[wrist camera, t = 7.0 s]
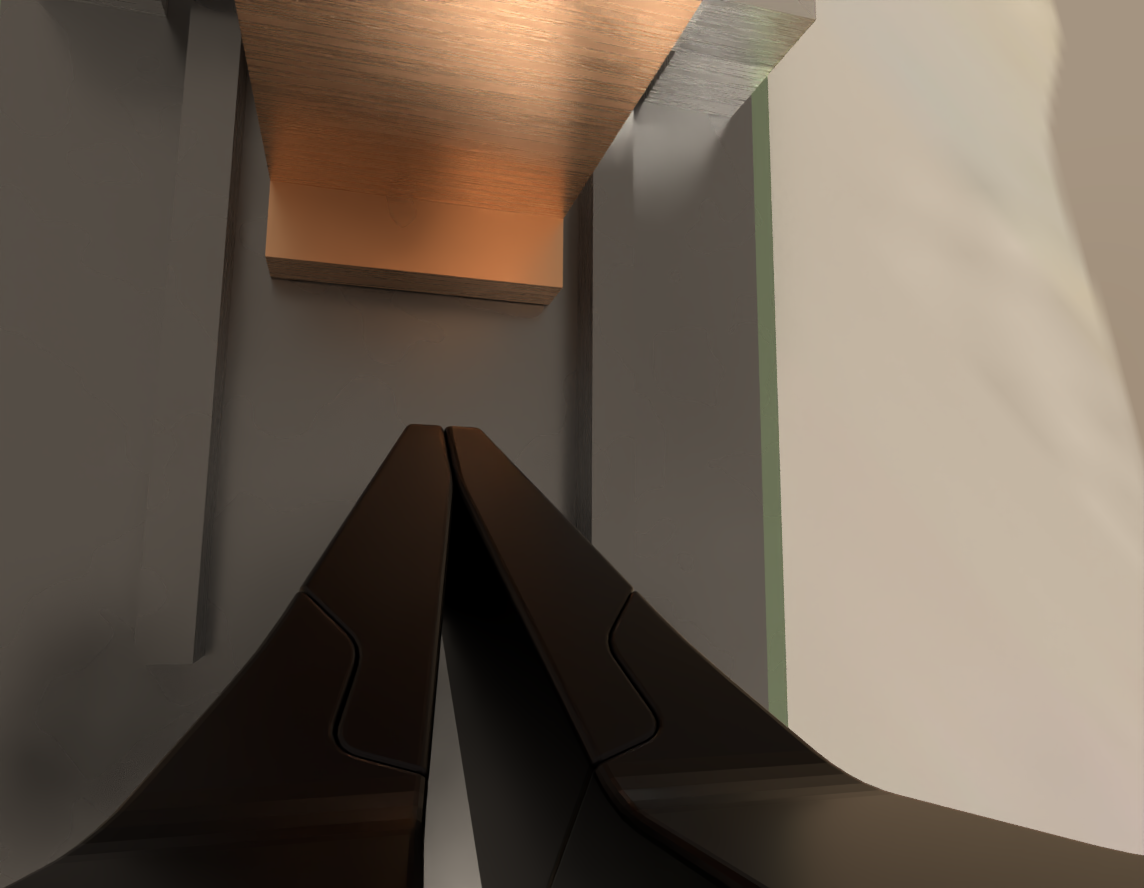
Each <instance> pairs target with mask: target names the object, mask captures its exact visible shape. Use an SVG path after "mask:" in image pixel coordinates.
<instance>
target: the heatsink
mask: <svg viewBox="0 0 1144 888" xmlns="http://www.w3.org/2000/svg"><path fill="white" fill-rule="evenodd" d="M815 20H816V5H815V0H703V1H702V2H701V4H700V5H699V7H698V8H697V10H696V12H695V13H694V15H693V16H692V18H691V19H690V21H689V23H688V24H687V26H686V27H685V29H684V30H683V32H682V34H681V35H680V37H679V38H678V40H677V41H676V43H675V45H674V46H673V48H672V49H671V51H670V52H669V54H668V56H667V57H666V59H665V60H664V62H663V63H662V65H661V67H660V68H659V70H658V71H657V73H656V74H655V76H654V77H653V79H652V81H651V82H650V84H649V85H648V87H647V88H646V90H645V92H644V93H643V95H642V96H641V98H640V99H639V101H638V103H637V104H636V106H635V107H634V109H633V110H632V112H631V114H630V115H629V117H628V118H627V120H626V121H625V123H624V125H623V126H622V128H621V129H620V131H619V132H618V134H617V136H616V137H615V139H614V140H613V142H612V143H611V145H610V147H609V148H608V150H607V151H606V153H605V154H604V156H603V158H602V159H601V161H600V162H599V164H598V165H597V167H596V169H595V170H594V172H593V173H592V175H591V176H590V178H589V180H588V181H587V183H586V184H585V186H584V187H583V189H582V190H581V192H580V194H579V195H578V197H577V198H576V200H575V201H574V203H573V205H572V206H571V208H570V209H569V211H568V212H567V214H566V216H565V217H564V219H563V288H562V289H561V290H560V292H559V293H558V294H557V295H556V297H555V298H554V299H553V300H552V302H551V303H550V304H549V305H545V304H535V303H525V302H515V301H505V300H495V299H485V298H474V297H464V296H454V295H444V294H434V293H424V292H414V291H404V290H394V289H384V288H374V287H364V286H354V285H343V284H333V283H323V282H313V281H303V280H293V279H283V278H273V277H270V273H269V269H268V265H267V262H266V258H265V250H266V236H267V221H268V207H269V193H270V177H269V172H268V167H267V162H266V157H265V151H264V146H263V141H262V136H261V131H260V126H259V121H258V116H257V111H256V106H255V101H254V96H253V91H252V86H251V81H250V76H249V71H248V66H247V60H246V55H245V50H244V45H243V40H242V35H241V30H240V25H239V20H238V15H237V10H236V5H235V0H0V888H4V887H6V886H8V885H10V884H12V883H13V882H15V881H17V880H19V879H21V878H23V877H25V876H27V875H29V874H31V873H32V872H34V871H36V870H38V869H40V868H42V867H44V866H46V865H48V864H49V863H51V862H53V861H55V860H56V859H58V858H59V857H61V856H62V855H64V854H65V853H66V852H68V851H69V850H71V849H72V848H74V847H75V846H76V845H78V844H79V843H80V842H81V841H82V840H84V839H85V838H86V837H87V836H89V835H90V834H91V833H92V832H93V831H95V830H96V829H97V828H98V827H99V826H100V825H101V824H102V823H103V822H104V821H105V820H106V819H107V818H109V817H110V816H111V815H112V814H113V813H114V812H115V811H116V809H117V808H118V807H119V806H120V805H121V804H122V803H123V802H124V801H125V800H126V799H127V798H128V797H129V795H130V794H131V793H132V792H133V791H134V790H135V789H136V788H137V787H138V785H139V784H140V783H141V782H142V781H143V780H144V779H145V778H146V776H147V775H148V774H149V773H150V772H151V771H152V770H153V769H154V767H155V766H156V765H157V764H158V763H159V762H160V761H161V760H162V758H163V757H164V756H165V755H166V754H167V753H168V752H169V751H170V749H171V748H172V747H173V746H174V745H175V744H176V743H177V742H178V740H179V739H180V738H181V737H182V736H183V735H184V734H185V733H186V731H187V730H188V729H189V728H190V727H191V726H192V725H193V724H194V723H195V721H196V720H197V719H198V718H199V717H200V716H201V715H202V714H203V712H204V711H205V710H206V709H207V708H208V707H209V706H210V705H211V703H212V702H213V701H214V700H215V699H216V698H217V697H218V696H219V694H220V693H221V692H222V691H223V690H224V689H225V687H226V686H227V685H228V684H229V683H230V681H231V680H232V679H233V678H234V677H235V675H236V674H237V673H238V672H239V671H240V670H241V668H242V667H243V666H244V665H245V664H246V662H247V661H248V660H249V659H250V658H251V656H252V655H253V654H254V653H255V651H256V650H257V649H258V647H259V646H260V644H261V643H262V642H263V640H264V639H265V638H266V636H267V635H268V633H269V632H270V631H271V629H272V628H273V626H274V625H275V624H276V622H277V621H278V619H279V618H280V617H281V615H282V614H283V612H284V611H285V609H286V608H287V606H288V605H289V603H290V601H291V600H292V598H293V597H294V595H295V594H296V593H297V592H299V589H300V587H301V585H302V584H303V582H304V581H305V579H306V578H307V576H308V575H309V573H310V572H311V570H312V569H313V567H314V566H315V564H316V563H317V561H318V560H319V558H320V557H321V555H322V554H323V552H324V551H325V549H326V547H327V546H328V544H329V543H330V541H331V540H332V538H333V537H334V535H335V534H336V532H337V531H338V529H339V528H340V526H341V525H342V523H343V522H344V520H345V519H346V517H347V516H348V514H349V513H350V511H351V510H352V508H353V506H354V505H355V503H356V502H357V500H358V499H359V497H360V496H361V494H362V493H363V491H364V490H365V488H366V487H367V485H368V484H369V482H370V481H371V479H372V478H373V476H374V475H375V473H376V472H377V470H378V469H379V467H380V465H381V464H382V462H383V461H384V459H385V458H386V456H387V455H388V453H389V452H390V450H391V449H392V447H393V446H394V444H395V443H396V441H397V440H398V438H399V437H400V435H401V434H402V432H403V431H404V429H405V428H406V427H407V426H408V425H409V424H425V425H438V426H441V427H442V428H443V430H444V429H445V428H446V427H448V426H461V427H476V428H479V429H481V430H482V431H483V432H484V433H485V434H486V435H487V436H488V437H489V438H490V439H491V440H492V442H493V443H494V444H495V445H496V446H497V447H498V448H499V449H500V450H501V451H502V452H503V453H504V454H505V455H506V456H507V457H508V458H509V459H510V460H511V461H512V462H513V463H514V464H515V465H516V466H517V467H518V468H519V469H520V470H521V471H522V473H523V474H524V475H525V476H526V477H527V478H528V479H529V480H530V481H531V482H532V483H533V484H534V485H535V486H536V487H537V488H538V489H539V490H540V491H541V492H542V493H543V494H544V495H545V496H546V497H547V498H548V499H549V500H550V501H551V502H552V504H553V505H554V506H555V507H556V508H557V509H558V510H559V511H560V512H561V513H562V514H563V515H564V516H565V517H566V518H567V519H568V520H569V521H570V522H571V523H572V524H573V525H574V526H575V527H576V528H577V529H578V530H579V531H580V532H581V533H582V535H583V536H584V537H585V538H586V539H587V540H588V541H589V542H590V543H591V544H592V545H593V546H594V547H595V548H596V549H597V550H598V551H599V552H600V553H601V554H602V555H603V556H604V557H605V558H606V559H607V560H608V561H609V562H610V563H611V565H612V566H613V567H614V568H615V569H616V570H617V571H618V572H619V573H620V574H621V575H622V576H623V577H624V578H625V579H626V580H627V581H628V582H629V583H630V584H631V585H632V586H633V588H634V591H637V592H639V593H640V594H641V595H642V596H643V597H644V598H645V599H646V600H647V601H648V602H649V603H650V604H651V605H652V607H653V608H654V609H655V610H656V611H657V612H658V613H659V614H660V615H661V616H662V617H663V618H664V619H666V620H667V621H668V622H669V623H670V624H671V625H672V626H673V627H674V628H675V629H676V630H677V631H678V632H679V633H680V634H681V635H682V636H683V637H684V638H685V639H686V640H687V641H688V642H689V643H690V644H691V645H693V646H694V647H695V648H696V649H697V650H698V651H699V652H700V653H702V654H703V655H704V656H705V657H706V658H707V659H708V660H709V661H711V662H712V663H713V664H714V665H715V666H716V667H717V668H719V669H720V670H721V671H722V672H723V673H724V674H725V675H726V676H728V677H729V678H730V679H731V680H732V681H734V682H735V683H736V684H737V685H738V686H740V687H741V688H742V689H743V690H744V691H745V692H747V693H748V694H749V695H750V696H751V697H753V698H754V699H755V700H756V701H757V702H758V703H760V704H761V705H762V706H763V707H764V708H766V709H767V710H768V711H769V712H770V713H771V714H773V715H774V716H775V717H776V718H777V719H779V720H780V721H781V722H782V723H783V724H784V725H786V726H787V727H788V713H787V681H786V649H785V618H784V586H783V554H782V522H781V491H780V459H779V427H778V395H777V364H776V332H775V300H774V269H773V237H772V205H771V173H770V142H769V110H768V78H767V75H768V74H769V73H770V72H771V71H772V70H773V69H774V67H775V66H776V65H777V64H778V63H779V62H780V61H781V59H782V58H783V57H784V56H785V55H786V54H787V52H788V51H789V50H790V49H791V48H792V47H793V46H794V44H795V43H796V42H797V41H798V40H799V39H800V37H801V36H802V35H803V34H804V33H805V32H806V31H807V29H808V28H809V27H810V26H811V25H812V24H813V23H814V21H815ZM634 591H633V592H634ZM424 888H482V886H481V880H480V873H479V867H478V860H477V854H476V848H475V841H474V835H473V829H472V822H471V816H470V810H469V803H468V797H467V791H466V784H465V778H464V772H463V765H462V759H461V753H460V746H459V740H458V734H457V727H456V721H455V715H454V708H453V702H452V696H451V689H450V683H449V677H448V670H447V664H446V658H445V651H444V645H443V639H442V636H441V648H440V659H439V670H438V682H437V693H436V704H435V716H434V727H433V738H432V750H431V761H430V772H429V780H428V795H427V808H426V822H425V839H424Z"/></svg>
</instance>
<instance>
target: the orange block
mask: <svg viewBox="0 0 1144 888" xmlns="http://www.w3.org/2000/svg"><path fill="white" fill-rule="evenodd" d="M702 1H703V0H235V5H236V10H237V15H238V20H239V25H240V30H241V35H242V40H243V45H244V50H245V55H246V60H247V66H248V71H249V76H250V81H251V86H252V91H253V96H254V101H255V106H256V111H257V116H258V121H259V126H260V131H261V136H262V141H263V146H264V151H265V157H266V162H267V167H268V172H269V177H270V193H269V207H268V221H267V236H266V250H265V258H266V262H267V265H268V269H269V273H270V277H273V278H283V279H293V280H303V281H313V282H323V283H333V284H343V285H354V286H364V287H374V288H384V289H394V290H404V291H414V292H424V293H434V294H444V295H454V296H464V297H474V298H485V299H495V300H505V301H515V302H525V303H535V304H545V305H549V304H550V303H551V302H552V300H553V299H554V298H555V297H556V295H557V294H558V293H559V292H560V290H561V289H562V288H563V219H564V217H565V216H566V214H567V212H568V211H569V209H570V208H571V206H572V205H573V203H574V201H575V200H576V198H577V197H578V195H579V194H580V192H581V190H582V189H583V187H584V186H585V184H586V183H587V181H588V180H589V178H590V176H591V175H592V173H593V172H594V170H595V169H596V167H597V165H598V164H599V162H600V161H601V159H602V158H603V156H604V154H605V153H606V151H607V150H608V148H609V147H610V145H611V143H612V142H613V140H614V139H615V137H616V136H617V134H618V132H619V131H620V129H621V128H622V126H623V125H624V123H625V121H626V120H627V118H628V117H629V115H630V114H631V112H632V110H633V109H634V107H635V106H636V104H637V103H638V101H639V99H640V98H641V96H642V95H643V93H644V92H645V90H646V88H647V87H648V85H649V84H650V82H651V81H652V79H653V77H654V76H655V74H656V73H657V71H658V70H659V68H660V67H661V65H662V63H663V62H664V60H665V59H666V57H667V56H668V54H669V52H670V51H671V49H672V48H673V46H674V45H675V43H676V41H677V40H678V38H679V37H680V35H681V34H682V32H683V30H684V29H685V27H686V26H687V24H688V23H689V21H690V19H691V18H692V16H693V15H694V13H695V12H696V10H697V8H698V7H699V5H700V4H701V2H702Z"/></svg>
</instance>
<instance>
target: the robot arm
mask: <svg viewBox="0 0 1144 888" xmlns="http://www.w3.org/2000/svg"><path fill="white" fill-rule="evenodd" d="M633 591H634V588H633V586H632V585H631V584H630V583H629V582H628V581H627V580H626V579H625V578H624V577H623V576H622V575H621V574H620V573H619V572H618V571H617V570H616V569H615V568H614V567H613V566H612V565H611V563H610V562H609V561H608V560H607V559H606V558H605V557H604V556H603V555H602V554H601V553H600V552H599V551H598V550H597V549H596V548H595V547H594V546H593V545H592V544H591V543H590V542H589V541H588V540H587V539H586V538H585V537H584V536H583V535H582V533H581V532H580V531H579V530H578V529H577V528H576V527H575V526H574V525H573V524H572V523H571V522H570V521H569V520H568V519H567V518H566V517H565V516H564V515H563V514H562V513H561V512H560V511H559V510H558V509H557V508H556V507H555V506H554V505H553V504H552V502H551V501H550V500H549V499H548V498H547V497H546V496H545V495H544V494H543V493H542V492H541V491H540V490H539V489H538V488H537V487H536V486H535V485H534V484H533V483H532V482H531V481H530V480H529V479H528V478H527V477H526V476H525V475H524V474H523V473H522V471H521V470H520V469H519V468H518V467H517V466H516V465H515V464H514V463H513V462H512V461H511V460H510V459H509V458H508V457H507V456H506V455H505V454H504V453H503V452H502V451H501V450H500V449H499V448H498V447H497V446H496V445H495V444H494V443H493V442H492V440H491V439H490V438H489V437H488V436H487V435H486V434H485V433H484V432H483V431H482V430H481V429H479V428H476V427H461V426H448V427H446V428H445V429H444V430H443V428H442V427H441V426H438V425H425V424H409V425H408V426H407V427H406V428H405V429H404V431H403V432H402V434H401V435H400V437H399V438H398V440H397V441H396V443H395V444H394V446H393V447H392V449H391V450H390V452H389V453H388V455H387V456H386V458H385V459H384V461H383V462H382V464H381V465H380V467H379V469H378V470H377V472H376V473H375V475H374V476H373V478H372V479H371V481H370V482H369V484H368V485H367V487H366V488H365V490H364V491H363V493H362V494H361V496H360V497H359V499H358V500H357V502H356V503H355V505H354V506H353V508H352V510H351V511H350V513H349V514H348V516H347V517H346V519H345V520H344V522H343V523H342V525H341V526H340V528H339V529H338V531H337V532H336V534H335V535H334V537H333V538H332V540H331V541H330V543H329V544H328V546H327V547H326V549H325V551H324V552H323V554H322V555H321V557H320V558H319V560H318V561H317V563H316V564H315V566H314V567H313V569H312V570H311V572H310V573H309V575H308V576H307V578H306V579H305V581H304V582H303V584H302V585H301V587H300V589H299V592H297V593H296V594H295V595H294V597H293V598H292V600H291V601H290V603H289V605H288V606H287V608H286V609H285V611H284V612H283V614H282V615H281V617H280V618H279V619H278V621H277V622H276V624H275V625H274V626H273V628H272V629H271V631H270V632H269V633H268V635H267V636H266V638H265V639H264V640H263V642H262V643H261V644H260V646H259V647H258V649H257V650H256V651H255V653H254V654H253V655H252V656H251V658H250V659H249V660H248V661H247V662H246V664H245V665H244V666H243V667H242V668H241V670H240V671H239V672H238V673H237V674H236V675H235V677H234V678H233V679H232V680H231V681H230V683H229V684H228V685H227V686H226V687H225V689H224V690H223V691H222V692H221V693H220V694H219V696H218V697H217V698H216V699H215V700H214V701H213V702H212V703H211V705H210V706H209V707H208V708H207V709H206V710H205V711H204V712H203V714H202V715H201V716H200V717H199V718H198V719H197V720H196V721H195V723H194V724H193V725H192V726H191V727H190V728H189V729H188V730H187V731H186V733H185V734H184V735H183V736H182V737H181V738H180V739H179V740H178V742H177V743H176V744H175V745H174V746H173V747H172V748H171V749H170V751H169V752H168V753H167V754H166V755H165V756H164V757H163V758H162V760H161V761H160V762H159V763H158V764H157V765H156V766H155V767H154V769H153V770H152V771H151V772H150V773H149V774H148V775H147V776H146V778H145V779H144V780H143V781H142V782H141V783H140V784H139V785H138V787H137V788H136V789H135V790H134V791H133V792H132V793H131V794H130V795H129V797H128V798H127V799H126V800H125V801H124V802H123V803H122V804H121V805H120V806H119V807H118V808H117V809H116V811H115V812H114V813H113V814H112V815H111V816H110V817H109V818H107V819H106V820H105V821H104V822H103V823H102V824H101V825H100V826H99V827H98V828H97V829H96V830H95V831H93V832H92V833H91V834H90V835H89V836H87V837H86V838H85V839H84V840H82V841H81V842H80V843H79V844H78V845H76V846H75V847H74V848H72V849H71V850H69V851H68V852H66V853H65V854H64V855H62V856H61V857H59V858H58V859H56V860H55V861H53V862H51V863H49V864H48V865H46V866H44V867H42V868H40V869H38V870H36V871H34V872H32V873H31V874H29V875H27V876H25V877H23V878H21V879H19V880H17V881H15V882H13V883H12V884H10V885H8V886H6V887H4V888H424V839H425V822H426V808H427V795H428V780H429V772H430V761H431V750H432V738H433V727H434V716H435V704H436V693H437V682H438V670H439V659H440V648H441V636H442V639H443V645H444V651H445V658H446V664H447V670H448V677H449V683H450V689H451V696H452V702H453V708H454V715H455V721H456V727H457V734H458V740H459V746H460V753H461V759H462V765H463V772H464V778H465V784H466V791H467V797H468V803H469V810H470V816H471V822H472V829H473V835H474V841H475V848H476V854H477V860H478V867H479V873H480V880H481V886H482V888H1144V855H1138V854H1132V853H1127V852H1123V851H1118V850H1114V849H1109V848H1104V847H1100V846H1096V845H1092V844H1088V843H1084V842H1080V841H1076V840H1073V839H1069V838H1065V837H1061V836H1057V835H1053V834H1049V833H1045V832H1041V831H1038V830H1034V829H1030V828H1026V827H1022V826H1018V825H1014V824H1010V823H1006V822H1003V821H999V820H995V819H991V818H987V817H983V816H979V815H975V814H971V813H968V812H964V811H960V810H956V809H952V808H948V807H944V806H940V805H936V804H933V803H929V802H925V801H921V800H917V799H913V798H909V797H905V796H901V795H898V794H894V793H891V792H887V791H884V790H881V789H879V788H876V787H874V786H872V785H869V784H867V783H864V782H862V781H860V780H859V779H857V778H855V777H853V776H851V775H849V774H848V773H846V772H844V771H843V770H841V769H840V768H838V767H837V766H835V765H834V764H832V763H831V762H829V761H828V760H827V759H826V758H824V757H823V756H822V755H820V754H819V753H818V752H817V751H815V750H814V749H813V748H812V747H811V746H809V745H808V744H807V743H806V742H805V741H803V740H802V739H801V738H800V737H799V736H798V735H796V734H795V733H794V732H793V731H792V730H790V729H789V728H788V727H787V726H786V725H784V724H783V723H782V722H781V721H780V720H779V719H777V718H776V717H775V716H774V715H773V714H771V713H770V712H769V711H768V710H767V709H766V708H764V707H763V706H762V705H761V704H760V703H758V702H757V701H756V700H755V699H754V698H753V697H751V696H750V695H749V694H748V693H747V692H745V691H744V690H743V689H742V688H741V687H740V686H738V685H737V684H736V683H735V682H734V681H732V680H731V679H730V678H729V677H728V676H726V675H725V674H724V673H723V672H722V671H721V670H720V669H719V668H717V667H716V666H715V665H714V664H713V663H712V662H711V661H709V660H708V659H707V658H706V657H705V656H704V655H703V654H702V653H700V652H699V651H698V650H697V649H696V648H695V647H694V646H693V645H691V644H690V643H689V642H688V641H687V640H686V639H685V638H684V637H683V636H682V635H681V634H680V633H679V632H678V631H677V630H676V629H675V628H674V627H673V626H672V625H671V624H670V623H669V622H668V621H667V620H666V619H664V618H663V617H662V616H661V615H660V614H659V613H658V612H657V611H656V610H655V609H654V608H653V607H652V605H651V604H650V603H649V602H648V601H647V600H646V599H645V598H644V597H643V596H642V595H641V594H640V593H639V592H637V591H634V592H633Z"/></svg>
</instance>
